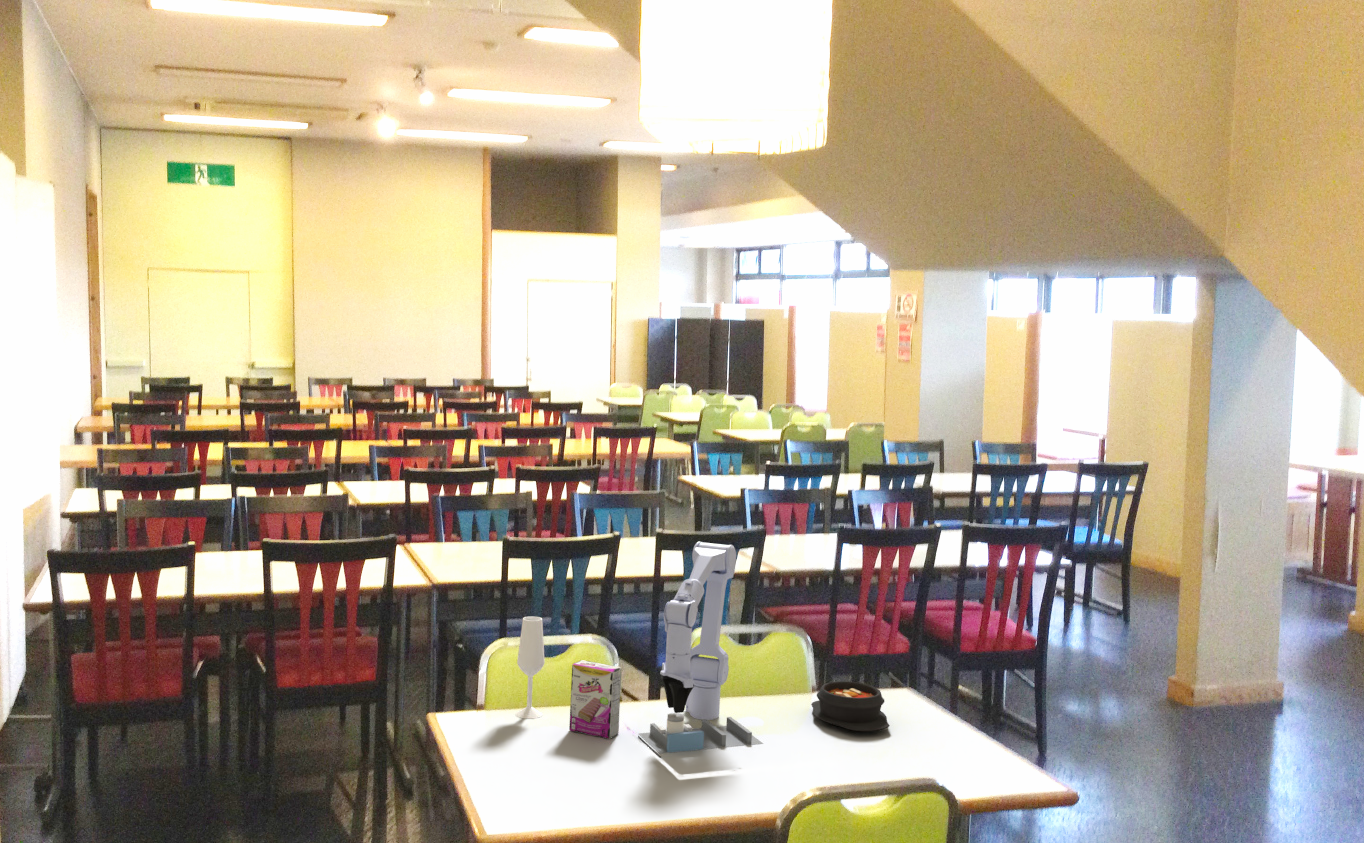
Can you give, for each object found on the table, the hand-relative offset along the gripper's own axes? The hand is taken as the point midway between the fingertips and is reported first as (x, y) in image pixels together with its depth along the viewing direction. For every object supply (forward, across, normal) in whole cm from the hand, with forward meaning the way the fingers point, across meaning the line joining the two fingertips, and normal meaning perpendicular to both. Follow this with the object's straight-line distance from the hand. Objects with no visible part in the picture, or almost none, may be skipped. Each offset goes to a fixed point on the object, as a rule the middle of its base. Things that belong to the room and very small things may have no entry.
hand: (675, 709), depth 280 cm
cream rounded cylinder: (+7, 0, 0) cm, 7 cm away
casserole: (+9, -5, +50) cm, 51 cm away
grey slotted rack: (+8, 0, +7) cm, 11 cm away
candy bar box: (+9, -13, -15) cm, 22 cm away
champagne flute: (+9, -30, -27) cm, 41 cm away
